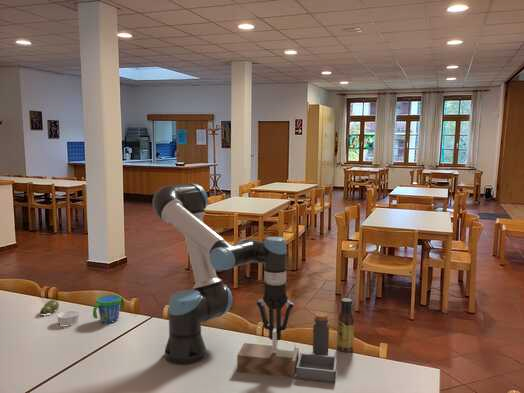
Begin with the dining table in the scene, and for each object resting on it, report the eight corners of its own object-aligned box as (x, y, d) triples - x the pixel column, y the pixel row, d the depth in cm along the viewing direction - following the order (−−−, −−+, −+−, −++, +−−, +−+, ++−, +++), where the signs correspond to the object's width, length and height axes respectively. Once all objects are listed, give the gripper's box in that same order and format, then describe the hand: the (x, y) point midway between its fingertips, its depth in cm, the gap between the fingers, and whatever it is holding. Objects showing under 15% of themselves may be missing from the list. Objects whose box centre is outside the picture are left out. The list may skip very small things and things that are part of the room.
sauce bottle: (335, 345, 180) (336, 296, 178) (351, 345, 180) (353, 296, 178) (338, 353, 174) (339, 302, 171) (354, 353, 173) (356, 302, 171)
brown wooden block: (237, 371, 159) (237, 355, 158) (244, 358, 168) (244, 342, 168) (294, 377, 155) (294, 361, 154) (298, 364, 164) (298, 348, 164)
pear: (60, 298, 216) (46, 309, 207) (62, 308, 217) (48, 319, 208) (50, 297, 217) (35, 308, 208) (51, 307, 219) (37, 318, 209)
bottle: (327, 356, 170) (328, 317, 169) (312, 355, 171) (312, 316, 170) (328, 350, 176) (329, 312, 174) (313, 348, 177) (314, 311, 175)
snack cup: (100, 328, 195) (99, 305, 194) (86, 322, 201) (86, 300, 200) (131, 318, 207) (131, 296, 206) (117, 312, 213) (117, 291, 212)
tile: (275, 356, 157) (275, 349, 157) (278, 348, 163) (278, 342, 163) (293, 358, 156) (293, 351, 156) (295, 350, 162) (295, 343, 162)
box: (295, 378, 154) (296, 367, 154) (299, 363, 165) (300, 353, 164) (335, 383, 151) (335, 371, 151) (336, 367, 162) (336, 356, 162)
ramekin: (74, 327, 196) (73, 317, 196) (53, 327, 196) (53, 317, 196) (82, 319, 205) (82, 310, 204) (63, 319, 205) (62, 309, 205)
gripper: (254, 284, 155) (254, 351, 158) (292, 286, 152) (292, 354, 155) (259, 278, 163) (259, 342, 165) (295, 280, 160) (295, 345, 162)
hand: (275, 348), depth 160 cm, fingers closed
